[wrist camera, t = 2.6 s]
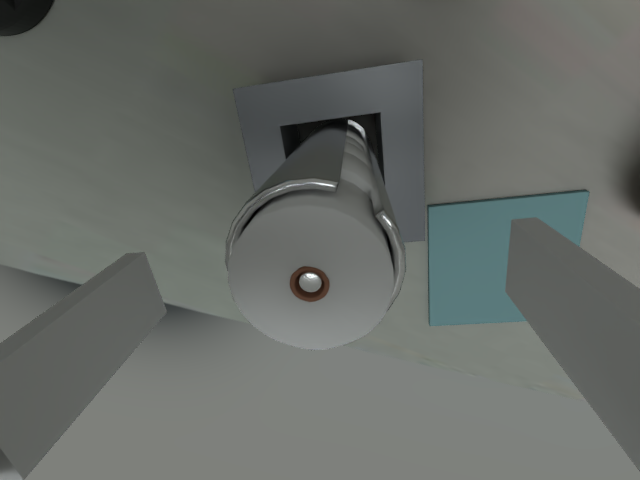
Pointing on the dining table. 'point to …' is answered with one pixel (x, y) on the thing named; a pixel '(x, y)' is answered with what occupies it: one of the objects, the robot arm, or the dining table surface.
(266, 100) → the grey hollow square block
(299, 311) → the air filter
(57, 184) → the dining table surface
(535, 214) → the teal mat
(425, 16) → the dining table surface
